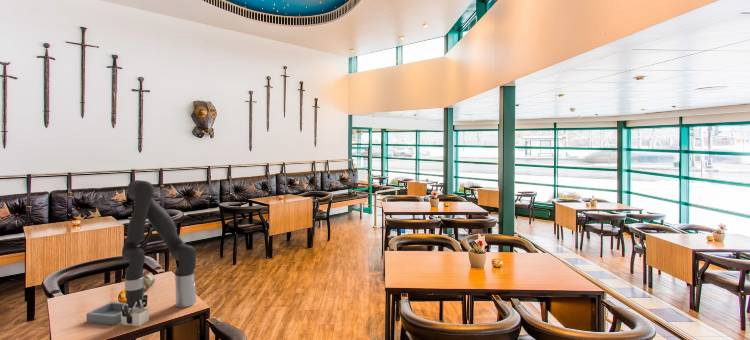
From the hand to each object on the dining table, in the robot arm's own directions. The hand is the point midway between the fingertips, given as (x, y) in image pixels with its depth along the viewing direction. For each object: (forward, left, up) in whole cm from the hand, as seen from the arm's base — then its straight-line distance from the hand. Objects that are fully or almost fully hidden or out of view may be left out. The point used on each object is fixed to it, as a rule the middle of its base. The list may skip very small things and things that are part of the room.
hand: (135, 320), depth 181 cm
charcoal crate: (-2, -15, -1) cm, 15 cm away
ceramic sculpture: (-38, -29, -2) cm, 48 cm away
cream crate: (0, 0, -1) cm, 1 cm away
